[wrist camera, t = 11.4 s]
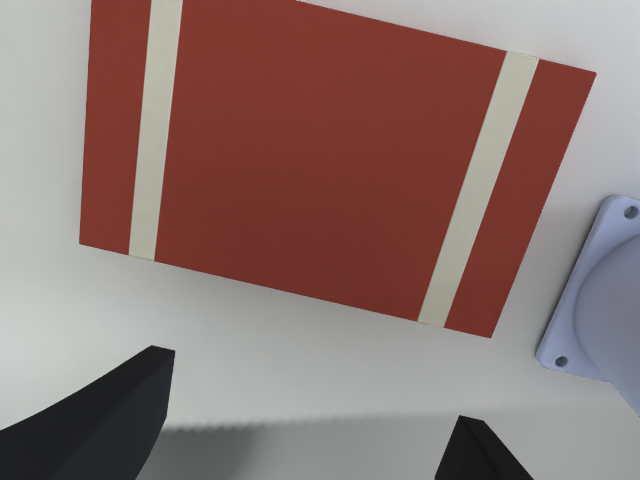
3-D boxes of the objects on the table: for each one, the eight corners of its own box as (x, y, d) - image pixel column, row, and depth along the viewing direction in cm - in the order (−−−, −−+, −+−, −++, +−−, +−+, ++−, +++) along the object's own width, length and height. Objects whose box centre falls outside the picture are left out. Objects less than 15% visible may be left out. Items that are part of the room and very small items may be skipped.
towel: (584, 72, 17) (598, 72, 16) (484, 327, 21) (491, 339, 20) (108, -42, 17) (93, -49, 16) (91, 237, 21) (78, 245, 20)
